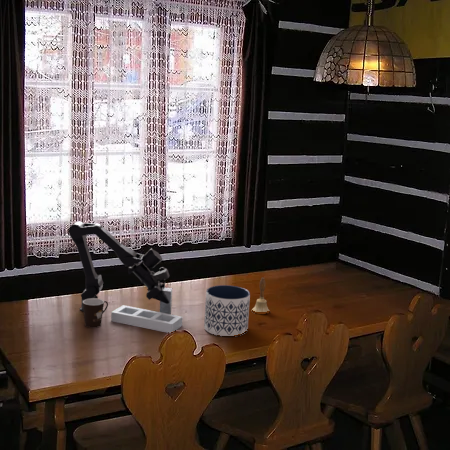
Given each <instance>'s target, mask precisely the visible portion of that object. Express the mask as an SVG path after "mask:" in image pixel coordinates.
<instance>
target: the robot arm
mask: <svg viewBox="0 0 450 450" xmlns="http://www.w3.org/2000/svg"><path fill="white" fill-rule="evenodd" d="M68 234H69V236H70V238H71V241H72V242H73V243H74V245H76V248H77V251H78V254H79V258H80V259H79V260H80V262H81V265H82V268H83V273H84V275H85V283H84V284H85V289H84V290H83V292H82V293H81V294H80V297H81V307H80V308H79V310H80V311H81V312H83V313H84V309H83V301H84V300H85V299H90V298H97V299H99V298H98V297H99V296H98V294H99V293H100V292H101V291H102V289H103V286H104V285H103V284H104V281H103V278H102V274H97V272H96V270H95V267H94V263H93V260H92V256H91V253H90V249H89V247H88V246H89V245H88V243H87V236H91V235H95V236H96V237H97V238H99V239H100V240H101V241H102V242H103V243H104V244H105V245H106V246H107V247H109V249H111V251H113V252H114V253H115V255H116V256H117V258H118V260H119V261H120V262H121V263H122V265H124V266H125V267H128V268H127V269H128V273H127V274H128V275H131V273H133V274H134V275H135V277H137V278H138V279H139V281H140V283H141V284H142V285H144V286H145V287H146V288H147V289H146V290H147V292H146V295H145V296H146V298H147V299H148V300H149V301H150V300H152V299H154V300H156V301H159V302H160V301H161V302H164V303H166V304H168V303H169V301H168V299H167V298H166V297H165V295H164V294H163V288H162V287H165V288H166V280H168V279H169V278H170V273H169V269H168V268H166V267H164V266H161V267H160V268H159V271H157V272H155V271H154V270H150V269H153V268H155V267H156V266H157V265H158V264H159V263H161V262H162V261H163V258H162V256H161V254H160V253H159V252H158V251H156V250H155V249H153V248H152V247H151V248H150V249H149V250H148V251H147V252H146V253H145V254H142V253H138V252H136V251H135V250H133V249H132V248H130V247H128V246H127V245H123V244H122V243H121V242H120V241H119V239H116V237H114V236H113V234H111V233H110V232H109V231H108V230H107V229H105V228H104V227H103V225H102V224H100V223H91V222H90V223H89V222H85V223H84V222H83V221H80V220H79V221H76V222H74V223H72V224H71V225H70V226H69V228H68Z"/></svg>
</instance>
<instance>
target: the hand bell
mask: <svg viewBox="0 0 450 450" xmlns="http://www.w3.org/2000/svg"><path fill="white" fill-rule="evenodd" d="M265 279H266V278H265V277H261V279H260V280H259V290H260V294H259V298H257V299H256V302H255V305H254V307H253V308H252V309H251V311H252V310H253V311H255V312H267V311H270V309H269V307H268V304H267V302H268V301H267V300H266V299H265V297H264V296H265V295H264V294H265V289H266V280H265Z"/></svg>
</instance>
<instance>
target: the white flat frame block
mask: <svg viewBox="0 0 450 450" xmlns="http://www.w3.org/2000/svg"><path fill="white" fill-rule="evenodd" d="M110 313H111V315H110V317H111V318H110V319H111V320H110V321H111V322H114V323H118V324H122V325H129V326H134V327H136V328H137V327H139V328H144V329H148V330H153V331H157V332H163V333H167V334H171V333H170V332H172V331H175V330H176V331H177V330H179V329H180V328H181V327H182V326H183V316H182V315H180V316H179V315H175V314H172V313H171V314H166V313H161V312H160V311H154V310H150V309H145V308H141V307H140V308H139V307H135V306H131V305H130V306H129V305H126V304H125V305H124V304H122V305H121V306H119V307H117V308H116V309H114V310H113V311H111V312H110ZM168 332H169V333H168Z"/></svg>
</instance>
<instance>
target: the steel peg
mask: <svg viewBox="0 0 450 450" xmlns="http://www.w3.org/2000/svg"><path fill="white" fill-rule="evenodd" d="M162 288H163V294H164V295H165V297H166V298H167V299H168V301H169V303H168V304H166V303H164V302H161V301H159V312H161V313H166V314H171V315H172V306H173V305H172V304H173V303H172V302H173V287H166V286H165V287H162Z"/></svg>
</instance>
